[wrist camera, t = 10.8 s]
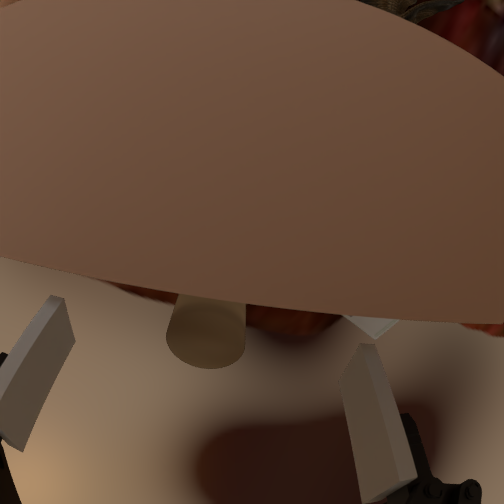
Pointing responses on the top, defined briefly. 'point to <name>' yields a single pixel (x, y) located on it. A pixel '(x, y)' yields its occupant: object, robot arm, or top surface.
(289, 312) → the top surface
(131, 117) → the beige arch frame
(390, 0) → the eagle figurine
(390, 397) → the robot arm
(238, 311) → the peg
